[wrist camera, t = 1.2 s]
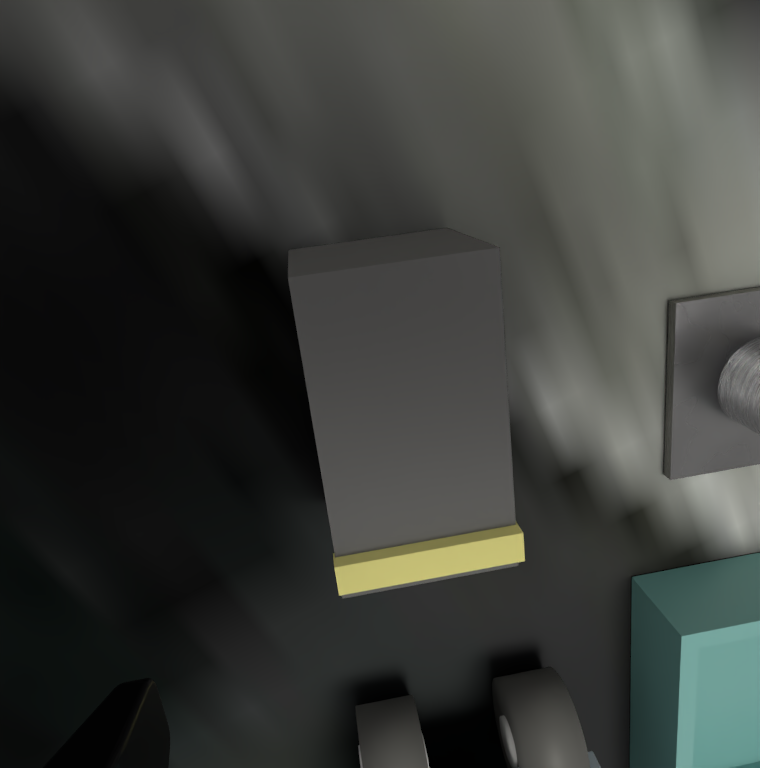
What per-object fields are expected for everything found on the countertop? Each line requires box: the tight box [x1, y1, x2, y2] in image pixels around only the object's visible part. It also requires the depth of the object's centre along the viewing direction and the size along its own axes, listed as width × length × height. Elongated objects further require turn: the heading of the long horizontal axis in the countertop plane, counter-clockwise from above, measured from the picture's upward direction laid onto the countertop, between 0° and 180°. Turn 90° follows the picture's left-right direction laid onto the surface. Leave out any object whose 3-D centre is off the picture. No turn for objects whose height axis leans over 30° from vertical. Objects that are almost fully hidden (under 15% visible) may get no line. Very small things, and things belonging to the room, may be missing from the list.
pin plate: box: [664, 287, 760, 480], centre depth 21 cm, size 6×6×1 cm
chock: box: [288, 228, 525, 599], centre depth 17 cm, size 5×8×5 cm, turn 7°
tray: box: [630, 553, 760, 768], centre depth 23 cm, size 8×10×3 cm
